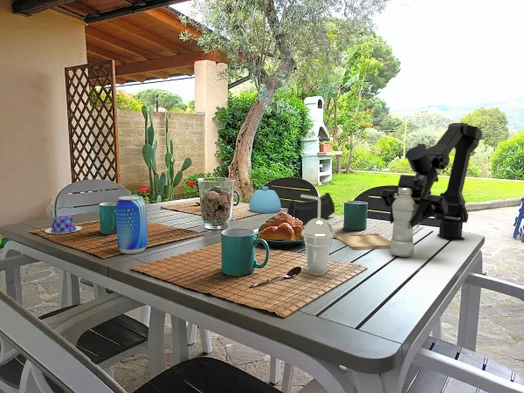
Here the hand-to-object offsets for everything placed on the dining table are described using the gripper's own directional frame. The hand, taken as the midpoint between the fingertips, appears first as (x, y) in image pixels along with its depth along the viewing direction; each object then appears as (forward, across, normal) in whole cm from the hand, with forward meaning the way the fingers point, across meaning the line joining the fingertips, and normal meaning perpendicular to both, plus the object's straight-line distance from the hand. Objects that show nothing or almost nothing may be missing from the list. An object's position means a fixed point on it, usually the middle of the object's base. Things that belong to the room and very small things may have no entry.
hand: (400, 224), depth 107 cm
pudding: (+54, -94, -39) cm, 115 cm away
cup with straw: (+27, -7, -13) cm, 31 cm away
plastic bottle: (+6, 0, +8) cm, 10 cm away
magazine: (-4, -48, +18) cm, 52 cm away
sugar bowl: (-6, -79, +20) cm, 82 cm away
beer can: (+47, -54, -33) cm, 79 cm away
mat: (+2, -15, +12) cm, 19 cm away
